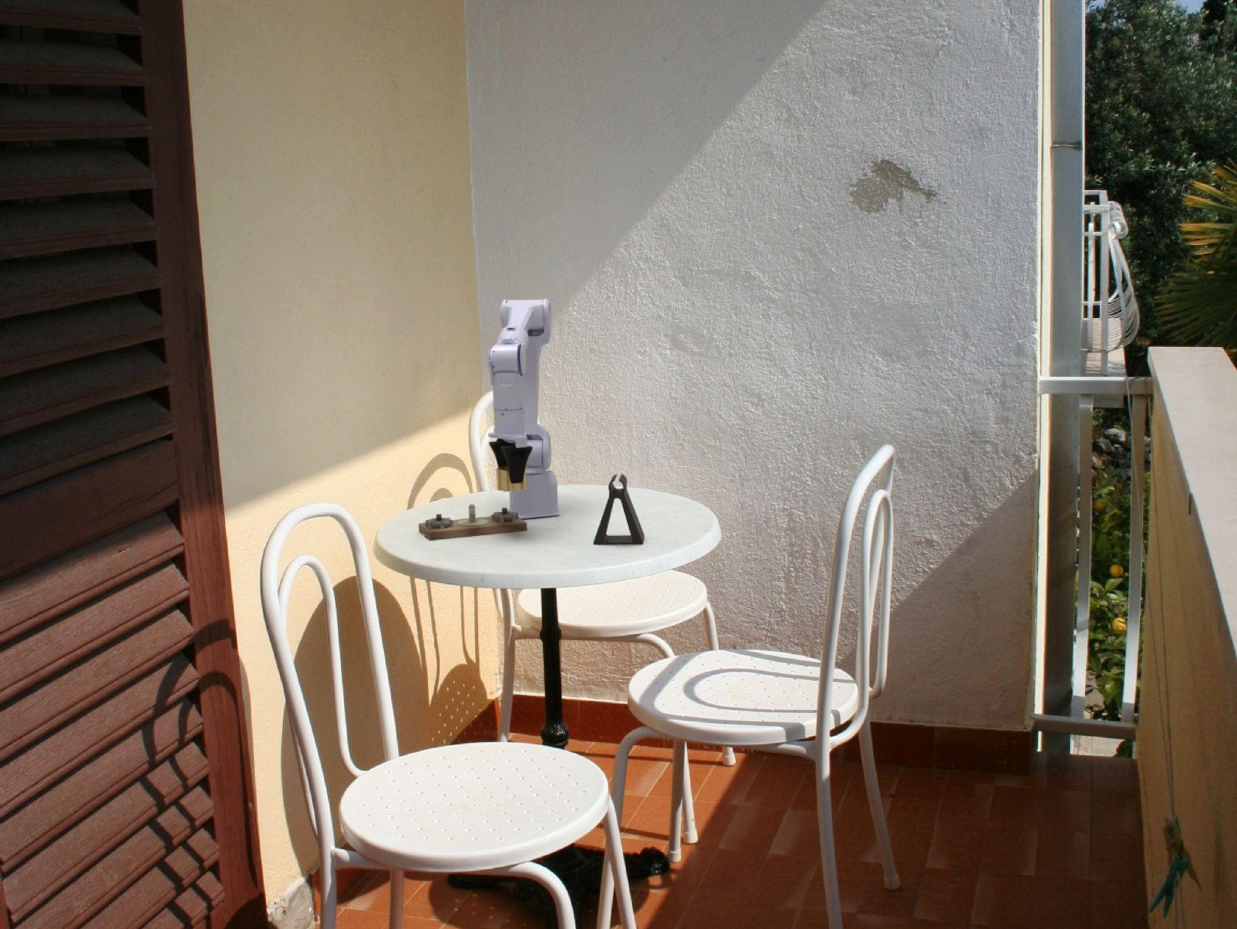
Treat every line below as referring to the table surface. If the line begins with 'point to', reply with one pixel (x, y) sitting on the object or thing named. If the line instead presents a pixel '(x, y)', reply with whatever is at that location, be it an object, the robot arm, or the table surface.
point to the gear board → (472, 525)
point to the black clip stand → (630, 515)
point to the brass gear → (505, 483)
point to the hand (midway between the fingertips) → (511, 480)
